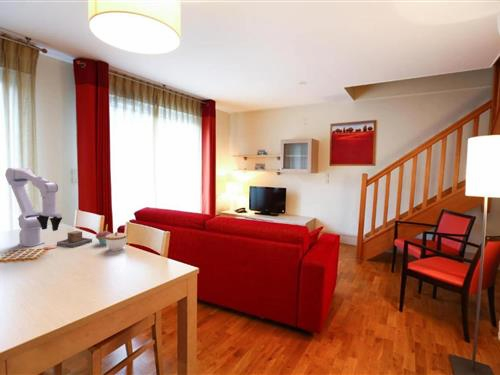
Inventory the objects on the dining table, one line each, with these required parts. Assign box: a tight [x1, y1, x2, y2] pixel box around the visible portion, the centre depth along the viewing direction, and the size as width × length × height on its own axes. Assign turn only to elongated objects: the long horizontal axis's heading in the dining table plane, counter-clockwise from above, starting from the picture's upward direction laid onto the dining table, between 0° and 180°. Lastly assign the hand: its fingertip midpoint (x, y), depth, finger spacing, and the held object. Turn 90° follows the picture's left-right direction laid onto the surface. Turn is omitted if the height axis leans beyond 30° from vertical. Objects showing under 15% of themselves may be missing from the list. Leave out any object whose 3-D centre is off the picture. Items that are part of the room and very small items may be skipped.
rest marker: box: [43, 245, 58, 250], centre depth 145 cm, size 6×6×1 cm
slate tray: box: [56, 236, 93, 248], centre depth 155 cm, size 12×12×2 cm
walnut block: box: [67, 230, 83, 244], centre depth 154 cm, size 5×5×6 cm
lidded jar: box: [105, 231, 128, 252], centre depth 147 cm, size 11×11×9 cm
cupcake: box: [95, 223, 112, 245], centre depth 156 cm, size 9×8×12 cm
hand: (49, 229), depth 145 cm, fingers open, 7 cm apart
